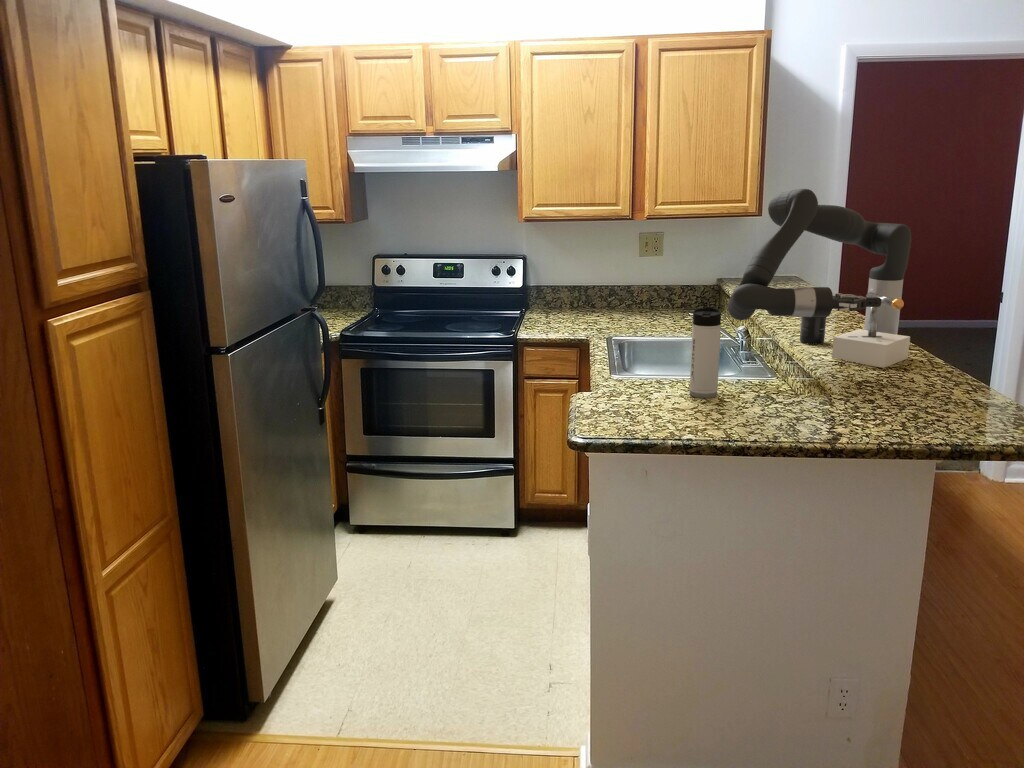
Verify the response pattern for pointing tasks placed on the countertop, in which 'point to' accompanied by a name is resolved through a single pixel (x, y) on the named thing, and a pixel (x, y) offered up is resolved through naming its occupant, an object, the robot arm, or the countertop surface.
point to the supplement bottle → (812, 330)
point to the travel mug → (705, 352)
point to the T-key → (874, 311)
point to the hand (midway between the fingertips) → (879, 301)
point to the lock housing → (871, 348)
